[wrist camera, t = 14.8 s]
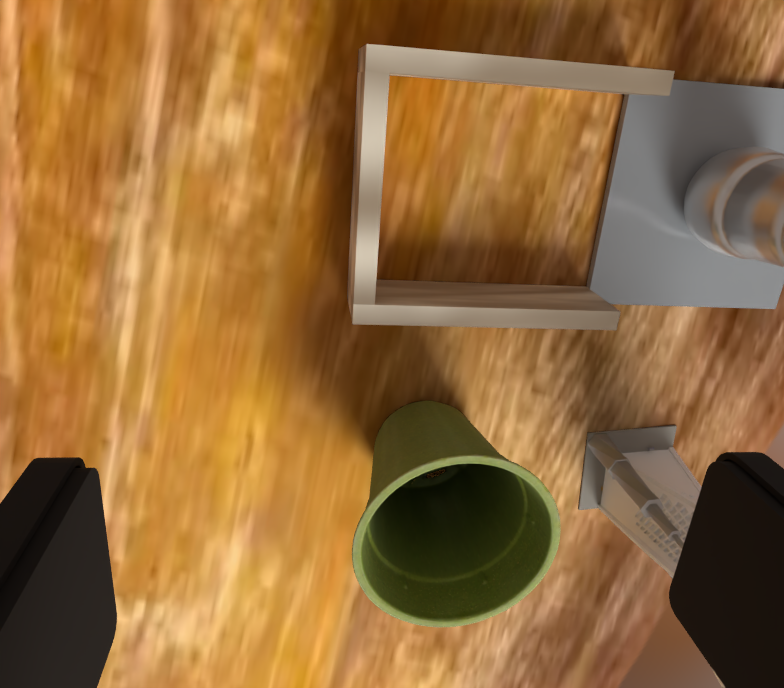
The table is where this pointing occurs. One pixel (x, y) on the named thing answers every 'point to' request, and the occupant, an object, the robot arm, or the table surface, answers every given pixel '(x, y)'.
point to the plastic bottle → (739, 204)
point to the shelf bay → (365, 292)
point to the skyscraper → (642, 489)
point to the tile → (679, 198)
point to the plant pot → (450, 522)
